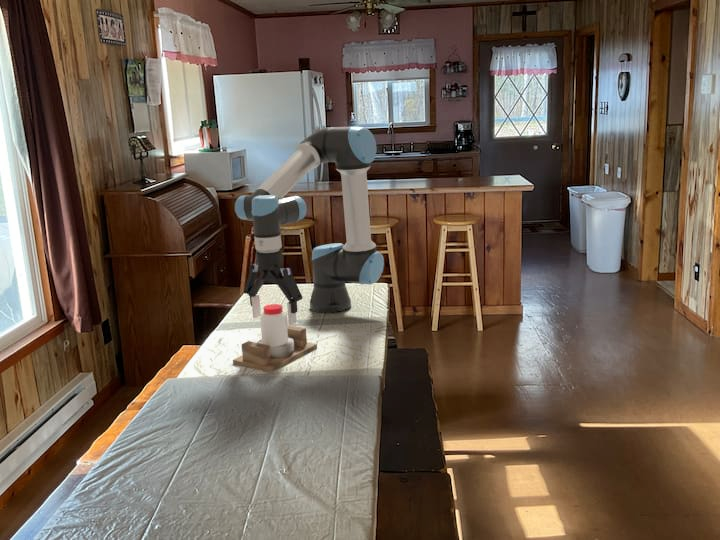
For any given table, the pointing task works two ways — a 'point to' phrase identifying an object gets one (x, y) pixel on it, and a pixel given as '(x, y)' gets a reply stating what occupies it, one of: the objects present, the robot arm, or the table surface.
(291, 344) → the cardboard packaging tray
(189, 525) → the table surface
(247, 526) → the table surface
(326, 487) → the table surface
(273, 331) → the pill bottle
